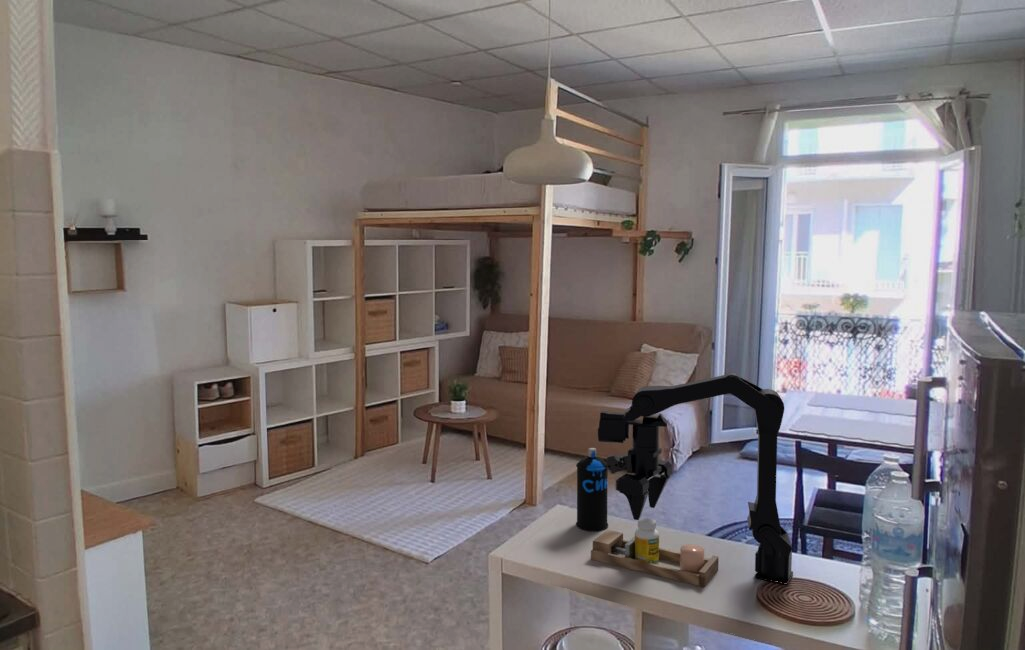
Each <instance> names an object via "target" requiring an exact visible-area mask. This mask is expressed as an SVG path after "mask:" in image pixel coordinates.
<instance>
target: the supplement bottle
mask: <svg viewBox="0 0 1025 650" xmlns="http://www.w3.org/2000/svg"><path fill="white" fill-rule="evenodd" d="M637 527H638V528H637V529H635V531H634V537H635V559H636V560H640V561H644V562H648V563H652V564H657V565H659V561H660V560H659V559H660V558H659V548H660V533H659V531H658V530H657V521H656V520H655V519H653V518H649V517H643V518H639V520H637Z"/></svg>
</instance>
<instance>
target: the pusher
mask: <svg viewBox="0 0 1025 650" xmlns="http://www.w3.org/2000/svg"><path fill="white" fill-rule="evenodd" d="M627 541H628V542H627V543H626V544H625V549H623V548H619V547H615V546H611V554H616V555H620V556H624V557H627V558H631V559H635V536H633V537H632V538H630V540H627Z"/></svg>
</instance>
